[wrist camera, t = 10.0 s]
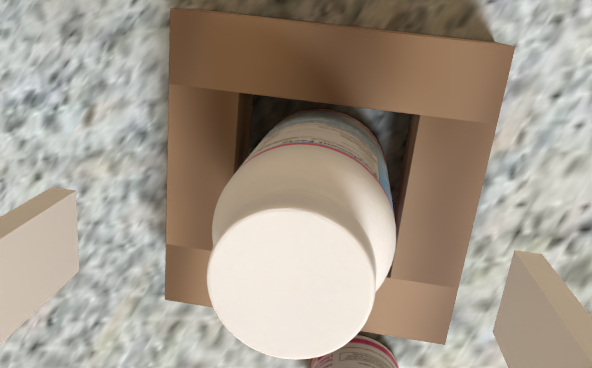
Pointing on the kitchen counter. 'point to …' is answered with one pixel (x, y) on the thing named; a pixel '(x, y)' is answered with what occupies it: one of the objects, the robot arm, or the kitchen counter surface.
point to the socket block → (349, 92)
